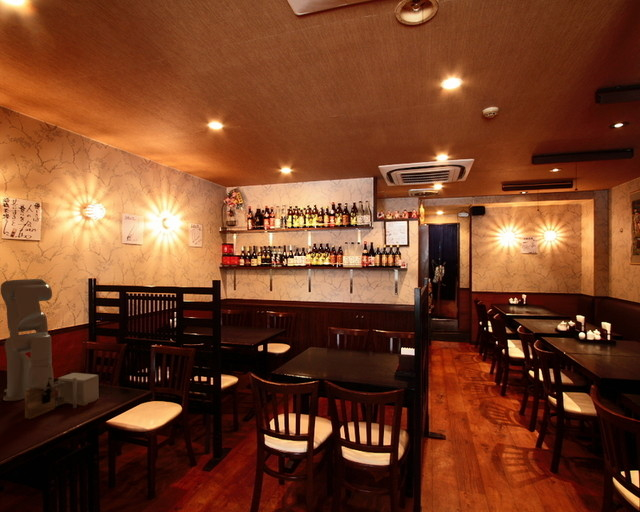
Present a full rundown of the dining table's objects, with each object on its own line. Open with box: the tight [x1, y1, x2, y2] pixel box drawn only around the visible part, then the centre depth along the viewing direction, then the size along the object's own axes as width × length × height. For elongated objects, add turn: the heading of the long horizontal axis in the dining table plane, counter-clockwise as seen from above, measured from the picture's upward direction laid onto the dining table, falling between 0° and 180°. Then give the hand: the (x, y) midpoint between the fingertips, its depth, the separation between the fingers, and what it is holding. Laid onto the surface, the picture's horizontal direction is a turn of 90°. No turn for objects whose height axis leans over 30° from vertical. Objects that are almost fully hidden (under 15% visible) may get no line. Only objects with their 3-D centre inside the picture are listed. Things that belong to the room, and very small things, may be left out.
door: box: [24, 380, 66, 420], centre depth 162 cm, size 4×15×12 cm, turn 165°
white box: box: [57, 372, 100, 409], centre depth 172 cm, size 16×12×14 cm
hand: (41, 401), depth 160 cm, fingers open, 5 cm apart
